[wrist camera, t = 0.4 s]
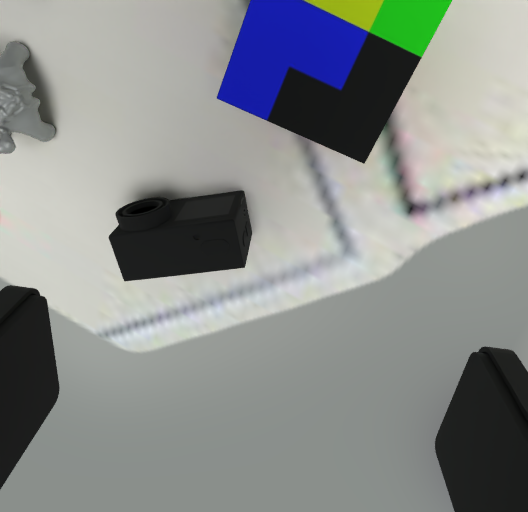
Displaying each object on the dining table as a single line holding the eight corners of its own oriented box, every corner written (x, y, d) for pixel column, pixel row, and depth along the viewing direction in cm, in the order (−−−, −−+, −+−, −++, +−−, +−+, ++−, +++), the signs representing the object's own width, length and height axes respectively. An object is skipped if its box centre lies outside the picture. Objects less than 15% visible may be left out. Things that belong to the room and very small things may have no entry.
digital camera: (242, 176, 39) (232, 205, 33) (253, 232, 42) (245, 268, 36) (131, 192, 41) (102, 222, 35) (148, 245, 43) (123, 282, 37)
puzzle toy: (236, 80, 36) (216, 98, 27) (287, -60, 31) (283, -94, 22) (348, 130, 37) (364, 163, 28) (412, 2, 33) (455, -6, 24)
